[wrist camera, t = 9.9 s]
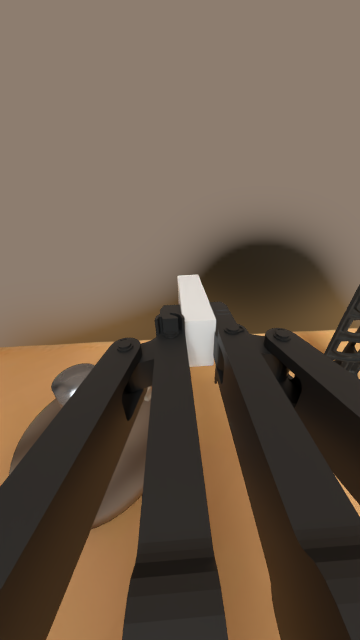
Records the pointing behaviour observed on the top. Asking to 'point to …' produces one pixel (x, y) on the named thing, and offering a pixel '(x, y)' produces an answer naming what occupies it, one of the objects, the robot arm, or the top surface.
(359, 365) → the holder
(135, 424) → the dial base
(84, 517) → the robot arm
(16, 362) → the top surface
